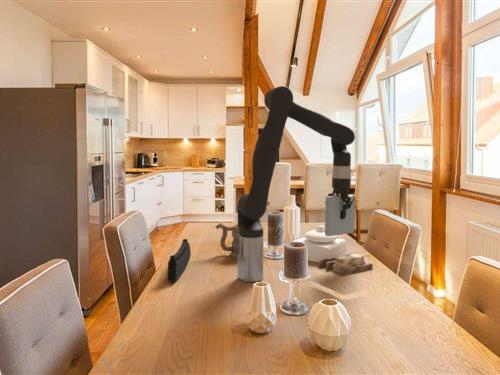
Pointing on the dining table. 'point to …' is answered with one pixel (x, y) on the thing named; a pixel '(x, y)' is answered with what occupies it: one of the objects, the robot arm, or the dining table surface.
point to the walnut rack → (328, 266)
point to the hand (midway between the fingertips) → (340, 218)
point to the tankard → (236, 239)
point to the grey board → (338, 217)
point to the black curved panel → (179, 262)
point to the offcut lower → (338, 268)
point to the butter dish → (322, 245)
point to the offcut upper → (349, 260)
